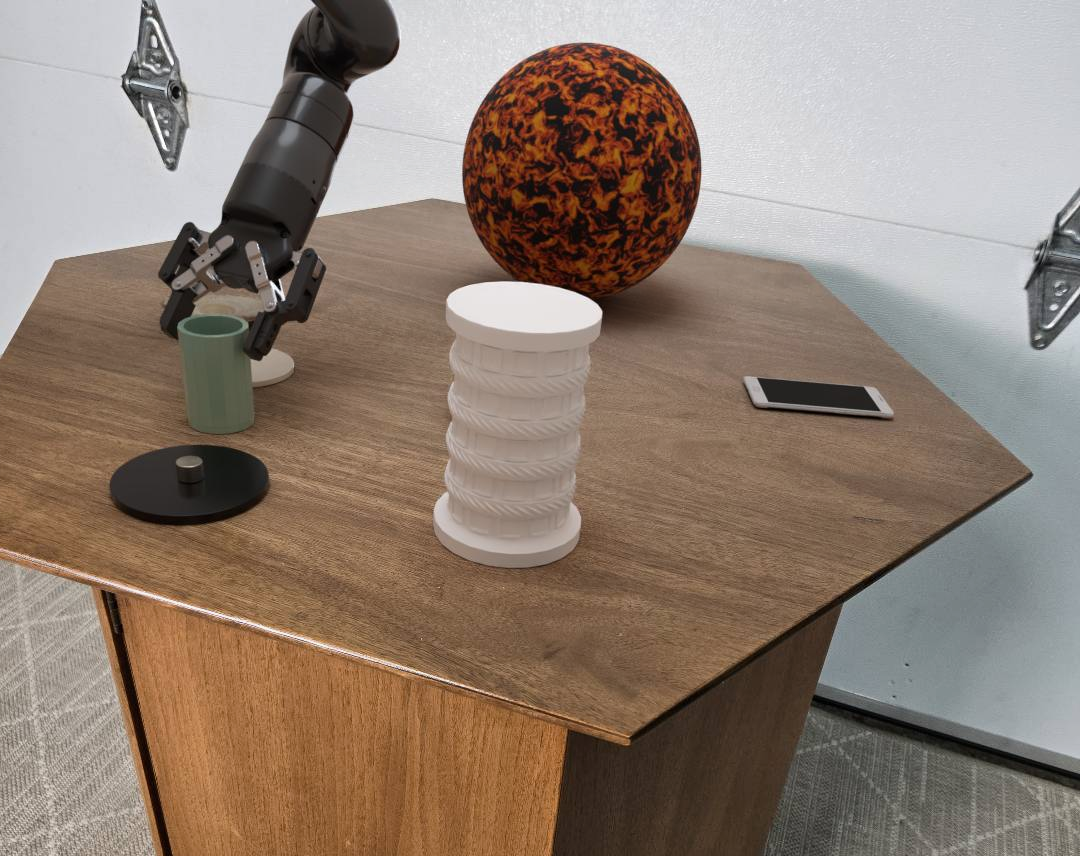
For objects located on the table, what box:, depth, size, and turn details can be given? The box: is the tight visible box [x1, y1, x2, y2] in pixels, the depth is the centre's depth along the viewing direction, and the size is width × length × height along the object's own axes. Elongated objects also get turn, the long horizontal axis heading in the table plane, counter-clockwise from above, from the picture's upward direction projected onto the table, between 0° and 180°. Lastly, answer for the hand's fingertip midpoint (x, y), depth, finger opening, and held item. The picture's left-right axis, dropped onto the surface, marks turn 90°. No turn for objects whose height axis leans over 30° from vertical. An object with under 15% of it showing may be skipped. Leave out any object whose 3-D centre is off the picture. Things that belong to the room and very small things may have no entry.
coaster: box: [251, 348, 295, 388], centre depth 99 cm, size 10×10×1 cm
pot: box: [177, 314, 256, 435], centre depth 87 cm, size 6×6×9 cm
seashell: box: [159, 294, 264, 323], centre depth 109 cm, size 12×12×3 cm
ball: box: [461, 42, 702, 300], centre depth 123 cm, size 30×30×30 cm
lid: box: [108, 444, 270, 526], centre depth 78 cm, size 12×12×2 cm
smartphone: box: [742, 375, 895, 419], centre depth 105 cm, size 8×1×15 cm
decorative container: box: [432, 280, 603, 569], centre depth 73 cm, size 12×12×18 cm
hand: (209, 345), depth 85 cm, fingers open, 8 cm apart
